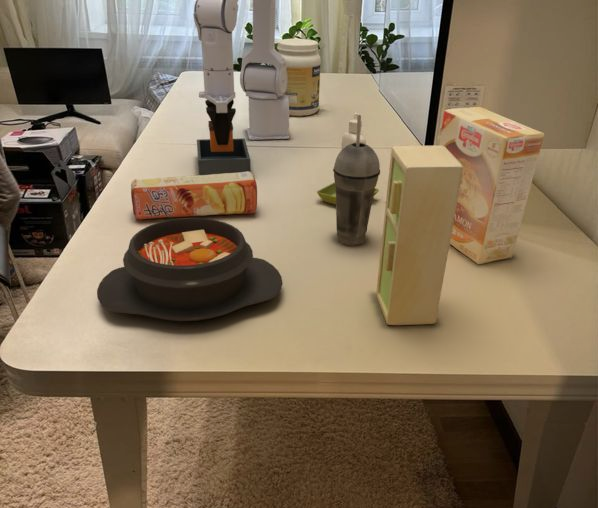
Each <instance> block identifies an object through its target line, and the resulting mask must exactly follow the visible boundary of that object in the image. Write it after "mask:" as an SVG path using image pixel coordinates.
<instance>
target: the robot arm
mask: <svg viewBox="0 0 598 508" xmlns="http://www.w3.org/2000/svg"><path fill="white" fill-rule="evenodd" d="M238 2H239V0H195V2H194V5H193V14H192V15H193V21H194V24H195V27H196V31H197V38H198V41H200V43H201V57H202V72H203V73H202V75H203V87H204V91H198V97H199V98H200V99H205V101H204V102H205V105H206V107H205V112H206V114H207V115H208V118H209V119H210V121H211V122H212V125H213V128H214V133H215V138H216V141H217V144H218V145H228V142H229V135H230V128H231V123H232V124H233V120H234V117H235V116H236V112H237V109H236V108H234V107H233V106H234V103H235V101H234V99H235V98H236V91H235V77H234V76H235V75H234V72H235V71H234V52H233V51H234V48H233V47H234V46H233V31H234V30H235V28H236V27H237V21H238V12H239V4H238ZM276 2H277V1H276V0H252V49H251V50H249V51H248V52H247V53H246V54H245V55H243V57H242V60H241V68H240V69H241V70H240V72H239V73H240V74H239V84H240V88H241V89H242V91H243V92H244V93H245V97H247V98H248V124H249V125H248V128H247V127H246V133H247V136H248V140H250V141H251V140H252V141H255V140H256V141H257V140H258V141H259V140H289V139H290V115H289V101H288V97H287V96H282V95H283V94H284V93H285V91H286V88H287V79H288V78H287V71H286V60H285V59H284V58H283V57H282V56H281V55H280V54H279V53H278V52H279V51H278V50H276V49H275V48H276V47H275V39H276V38H275V37H276V5H277V4H276Z"/></svg>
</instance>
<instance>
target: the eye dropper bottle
mask: <svg viewBox="0 0 598 508" xmlns="http://www.w3.org/2000/svg"><path fill="white" fill-rule="evenodd" d="M358 115H359V113H357V112H354V113H353V116H352V119H350V120H348V131H345V132H344V133H343V135H342V140H341V150H342V149H343V148H345V147H346V146H347V145H349V144H352V143H356V137H357V118H358ZM361 124H362V120H361ZM360 143H363V144H366V145H367V142H366V138H365V135H363V133H362V125H361V126H360Z"/></svg>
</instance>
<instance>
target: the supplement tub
mask: <svg viewBox="0 0 598 508" xmlns="http://www.w3.org/2000/svg"><path fill="white" fill-rule="evenodd" d="M276 49H277V52H278V53H279V54H280V55H281V56H282V57H283V58H284V59H285V60H286V71H287V78H288V79H287V88H286V91H285V93H284V94H283V95H282V96H287V97H288V101H289V116H292V117H304V116H305V117H306V116H310V115H313V114H316V112H318V111H319V108H320V87H321V66H322V65H321V64H322V61H321V59H322V58H321V56H320V54H319V53H318V51H319V42H318V41H316V40H313V39H307V38H284V39H279V40H277V47H276Z"/></svg>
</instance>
